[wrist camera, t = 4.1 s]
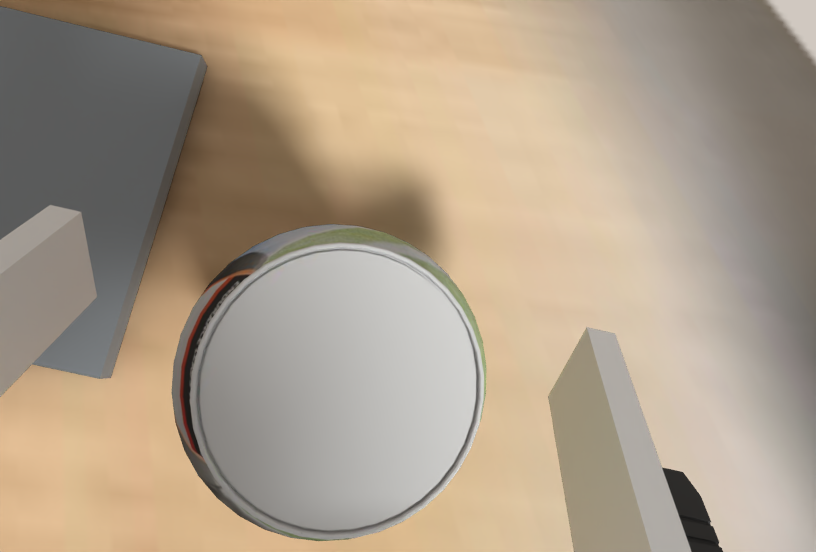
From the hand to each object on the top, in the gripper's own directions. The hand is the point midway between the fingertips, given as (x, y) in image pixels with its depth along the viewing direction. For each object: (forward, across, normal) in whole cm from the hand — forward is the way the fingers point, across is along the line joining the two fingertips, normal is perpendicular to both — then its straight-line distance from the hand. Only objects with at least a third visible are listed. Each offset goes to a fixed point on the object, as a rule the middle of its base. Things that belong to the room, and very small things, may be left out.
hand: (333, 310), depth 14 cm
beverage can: (+4, 0, -6) cm, 7 cm away
